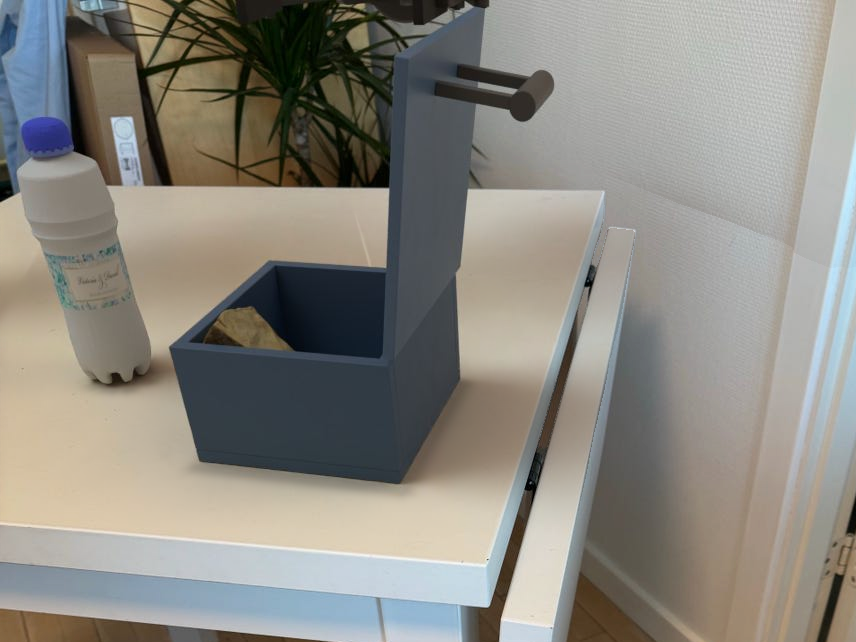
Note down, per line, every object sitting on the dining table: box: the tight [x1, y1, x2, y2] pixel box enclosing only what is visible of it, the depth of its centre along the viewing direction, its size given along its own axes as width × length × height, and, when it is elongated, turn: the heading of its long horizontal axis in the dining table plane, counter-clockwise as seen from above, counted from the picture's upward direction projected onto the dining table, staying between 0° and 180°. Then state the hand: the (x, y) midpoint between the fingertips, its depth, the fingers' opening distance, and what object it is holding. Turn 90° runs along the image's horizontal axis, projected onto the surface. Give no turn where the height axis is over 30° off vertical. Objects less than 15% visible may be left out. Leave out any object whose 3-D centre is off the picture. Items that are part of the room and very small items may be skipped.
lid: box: [383, 6, 555, 360], centre depth 59 cm, size 17×17×7 cm
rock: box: [203, 306, 294, 351], centre depth 69 cm, size 11×9×10 cm
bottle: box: [16, 116, 152, 385], centre depth 73 cm, size 7×7×20 cm
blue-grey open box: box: [168, 259, 461, 485], centre depth 70 cm, size 16×17×9 cm
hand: (326, 1), depth 65 cm, fingers open, 13 cm apart
